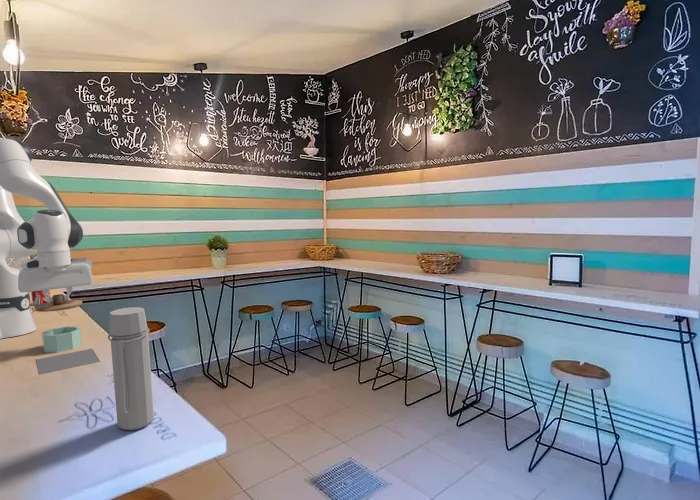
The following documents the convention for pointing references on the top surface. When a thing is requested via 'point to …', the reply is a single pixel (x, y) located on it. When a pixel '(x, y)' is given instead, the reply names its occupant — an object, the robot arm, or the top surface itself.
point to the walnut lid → (58, 304)
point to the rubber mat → (66, 361)
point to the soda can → (39, 297)
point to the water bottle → (131, 367)
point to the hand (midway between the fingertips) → (58, 301)
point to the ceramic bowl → (61, 339)
